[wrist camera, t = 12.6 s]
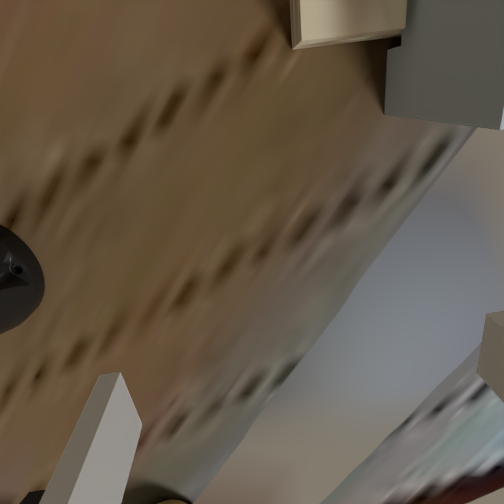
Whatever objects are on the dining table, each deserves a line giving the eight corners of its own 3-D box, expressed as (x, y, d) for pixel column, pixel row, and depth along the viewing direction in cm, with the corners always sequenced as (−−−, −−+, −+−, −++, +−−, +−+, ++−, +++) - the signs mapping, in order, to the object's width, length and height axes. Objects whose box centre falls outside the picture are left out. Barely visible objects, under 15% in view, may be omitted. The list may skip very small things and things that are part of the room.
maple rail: (292, 49, 34) (301, 40, 28) (289, 0, 32) (299, -19, 27) (539, 19, 33) (597, 4, 28) (549, -32, 32) (613, -59, 26)
